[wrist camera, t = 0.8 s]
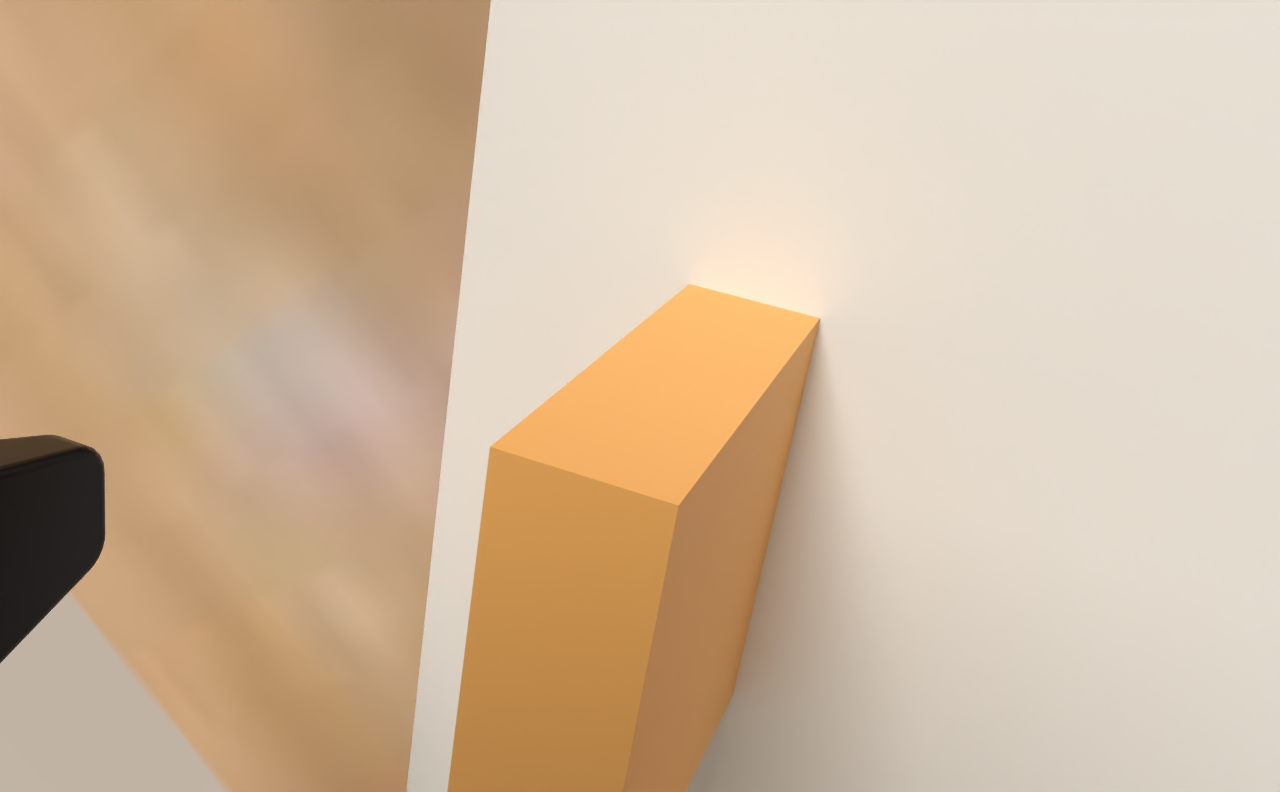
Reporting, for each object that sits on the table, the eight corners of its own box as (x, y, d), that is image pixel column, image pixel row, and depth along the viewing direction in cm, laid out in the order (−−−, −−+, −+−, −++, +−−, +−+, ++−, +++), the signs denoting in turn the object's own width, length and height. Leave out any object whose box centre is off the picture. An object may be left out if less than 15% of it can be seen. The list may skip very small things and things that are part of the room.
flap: (1218, 1225, 13) (1273, 1811, 9) (416, 889, 15) (171, 1228, 11) (1965, -172, 8) (2955, -308, 4) (559, -353, 10) (191, -555, 6)
